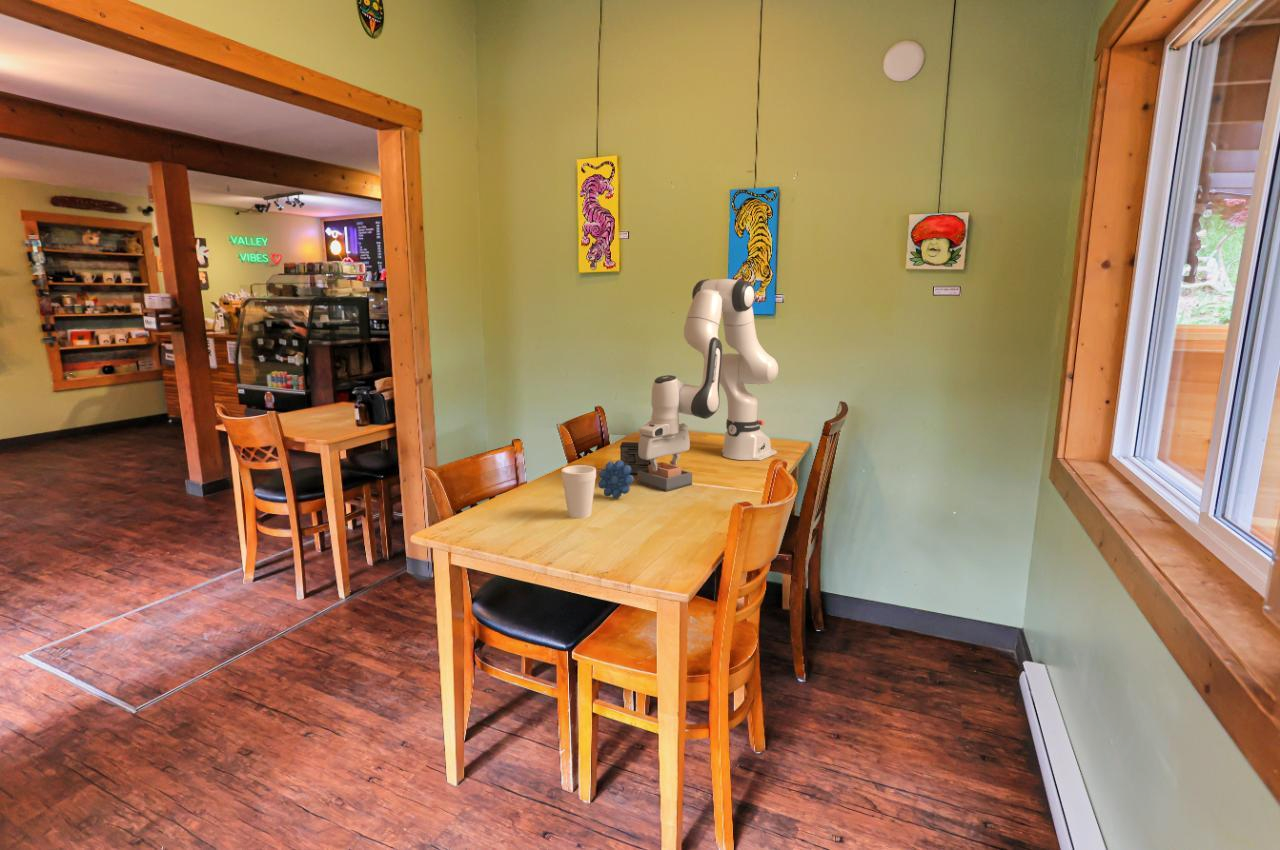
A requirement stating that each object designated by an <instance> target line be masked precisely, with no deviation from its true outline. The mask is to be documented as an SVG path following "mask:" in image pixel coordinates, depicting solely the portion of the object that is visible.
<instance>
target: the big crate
mask: <svg viewBox="0 0 1280 850" xmlns="http://www.w3.org/2000/svg"><path fill="white" fill-rule="evenodd" d="M636 477H637V478H636V479H637V481H636V482H637V484H640V485H644V486H647V487H650V488H652V489H653V488H654V489H657V490H660V491H663V492H666V493H667V492H670V491H674V490H678V489H681V488H684V487H688V486H691V485H693V472H690V471H688V470H684V469H681V475H678V476H674V477H670V478H664V477H660V476H657V475H653V474H650V473H649V468H647V469H643V470H639V471H637V475H636Z"/></svg>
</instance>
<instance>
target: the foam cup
mask: <svg viewBox="0 0 1280 850" xmlns="http://www.w3.org/2000/svg"><path fill="white" fill-rule="evenodd" d="M596 479H597V468H596V467H595V466H591V465H585V464H583V465H582V464H576V465H575V464H574V465H569V466H566V467H565V466H564V467H562V469H561V480H562V485H563V490H564V496H565V502H566V503H565V504H566V509H567V514H568V516H569V517H570V518H572V519H585V518H589V517H591V515H592V512H593V511H592V510H593V504H594V503H593V502H594V494H595V484H596Z"/></svg>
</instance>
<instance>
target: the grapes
mask: <svg viewBox="0 0 1280 850" xmlns="http://www.w3.org/2000/svg"><path fill="white" fill-rule="evenodd" d="M630 473H631V467H630V466H628V465H626V466H624V463H623V461H621V459H618V460H616V461H615V462H613V461H608V462H607V463H606V464H605V467H604V468H602V469H601V470H600V471H599V475H598V476H599V478H600V480H599V481H598V487H599V488H600V489H603V495H604V496H605V497H610V496H611V497H613V498H614V499H619V498H621V496H622V494H624V495H626V494H628V493H629V492H630V489H631V487H630V485H632V484H633V483H634V480H635V479H634V475H629V474H630Z"/></svg>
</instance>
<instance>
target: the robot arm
mask: <svg viewBox="0 0 1280 850" xmlns="http://www.w3.org/2000/svg"><path fill="white" fill-rule="evenodd" d="M691 294H692V295H691V297H692V302H691V304H690V306H689V309H688V313H687V315H686V320H685V323H684V326H683V337H684V339H685V341H686V343H687V344H688V345H689V346H690V347H691V348H693V349H694V350H696V351H698V352H699V353H700V354H701V355H702V357H703V359H704V360H703V372H702V381H701V384H700V385H691V384H686V382H685V383H684V382H682V381H680V380H679V379H678V377H677V376H676V375H670V374H669V375H668V374H667V375H666V374H665V375H661V376H658V377H656V378H655V379H654V381H653V383H652V388H651V398H650V399H651V400H650V401H651V403H650V404H651V408H652V413H651V417H650V418H651V420H650V421H649V422H647V423H646V424H644V425H642V426H641V427H640V428H639V430H638V433H639V434H640V436H639V438H638V442H639V444H638V454H639V457H640V458H641V459H644V460H650V462H651V464H652V470H653V471H659V465H657V463H658V462H657V461H658V458H662V457H666V456H672V458H671V460H670V461H669V464H671V465H675V466H678V461H679V459H680V456H681V453H685V452H688V451H689V450H690V448H691V447H690V446H691V443H690V434H689V427H688V425H687V424H686V423H683V422H682V423H680V415H679V414H682V415H683V414H684V415H688V416H695V417H697V418H700V419H705V420H707V419H709V418H711V417H712V416H713V415H715V414H716V412H717V411H718V409H719V407H720V385H721V387H722V388H723V391H724V392H725V396H726V401H727V418H726V423H725V424H726V426H725V427H726V428H725V429H726V432H725V434H724V441H723V448H722V449H721V453H722V454H721V455H722V456H723V457H724V458H726V459H731V460H740V461H763V460H765V459H768V458H769V457H772V456H773V455H776V454H778V451H777V450H775V448H771V447H772V446H771V439H770V437H769V436H768V435H767V434H766V433H765V432H764V431H762V429H761V428H760V427H761V426H764V424H765V420H764V419H759V420H758V406H759V404H758V399H757V398H756V396H754V394H752V393H750V392H749V391H748V390H747V389H746V387H745V384H746V385H747V384H748V385H757V386H758V385H768V384H772V383H773V382H774V381H775V380H776V379H777V377H778V375H779V364H778V362H777V360H776V359H775V358H774V357H773V356H771V355H770V354H768V352H766V350H764V348H763V347H762V345H761V344H760V342H759V340H758V336H757V330H756V325H755V316H754V308H753V305H754V303H755V297H756V295H755V294H756V292H755V289H754V286H753V284H752V283H751V282H750V281H747V280H743V279H731V278H722V279H721V278H719V279H717V278H716V279H708V278H707V279H701V280H700V281H698V282H697V283H696V284H695V285H694V286H693V289H692V293H691ZM721 319H722V323H723V330H724V339H725V343H726V344H727V345H728V346H729V348H731V349H733V350H735V351H736V352H737V353H723V344H722V341H721V340H720V339H719V327H720V324H721Z"/></svg>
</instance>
